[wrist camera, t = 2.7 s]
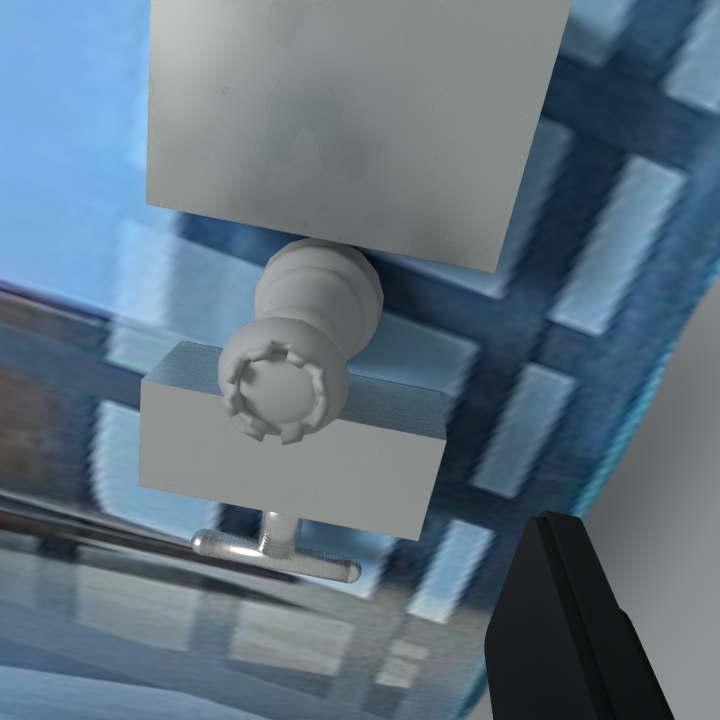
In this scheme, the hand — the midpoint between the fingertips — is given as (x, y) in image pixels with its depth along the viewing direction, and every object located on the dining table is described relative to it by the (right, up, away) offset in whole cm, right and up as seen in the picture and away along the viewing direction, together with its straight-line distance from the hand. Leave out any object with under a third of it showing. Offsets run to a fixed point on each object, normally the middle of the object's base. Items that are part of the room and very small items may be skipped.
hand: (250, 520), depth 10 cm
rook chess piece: (+1, +5, +11) cm, 12 cm away
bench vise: (+1, +5, +11) cm, 12 cm away
